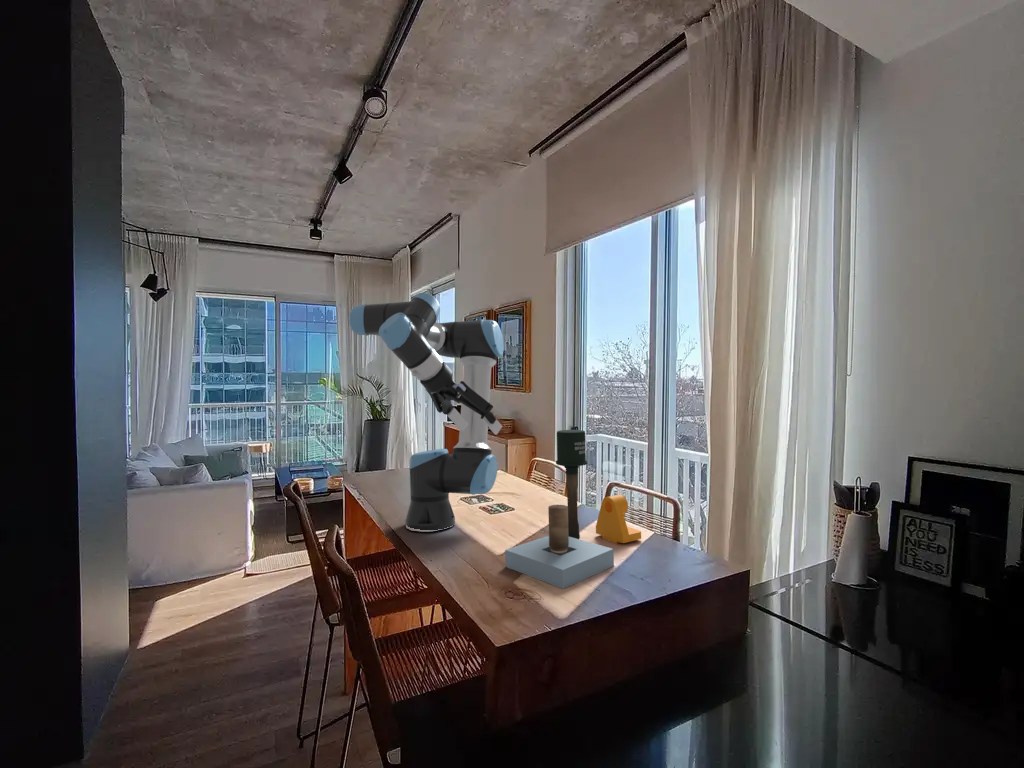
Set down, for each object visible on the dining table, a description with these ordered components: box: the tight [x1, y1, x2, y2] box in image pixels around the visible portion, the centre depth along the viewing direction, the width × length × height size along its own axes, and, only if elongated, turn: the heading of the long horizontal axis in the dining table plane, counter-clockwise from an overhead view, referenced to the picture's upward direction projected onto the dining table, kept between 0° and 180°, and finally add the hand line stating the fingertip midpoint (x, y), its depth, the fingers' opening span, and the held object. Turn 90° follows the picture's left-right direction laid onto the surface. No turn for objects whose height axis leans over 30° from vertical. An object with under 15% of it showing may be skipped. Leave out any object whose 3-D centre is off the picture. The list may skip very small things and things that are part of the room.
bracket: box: [595, 494, 642, 545], centre depth 136 cm, size 11×7×12 cm, turn 31°
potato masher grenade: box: [555, 429, 588, 540], centre depth 135 cm, size 8×9×30 cm
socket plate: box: [504, 535, 615, 590], centre depth 116 cm, size 18×18×4 cm
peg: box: [547, 504, 569, 556], centre depth 116 cm, size 5×5×14 cm
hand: (481, 429), depth 128 cm, fingers open, 13 cm apart
